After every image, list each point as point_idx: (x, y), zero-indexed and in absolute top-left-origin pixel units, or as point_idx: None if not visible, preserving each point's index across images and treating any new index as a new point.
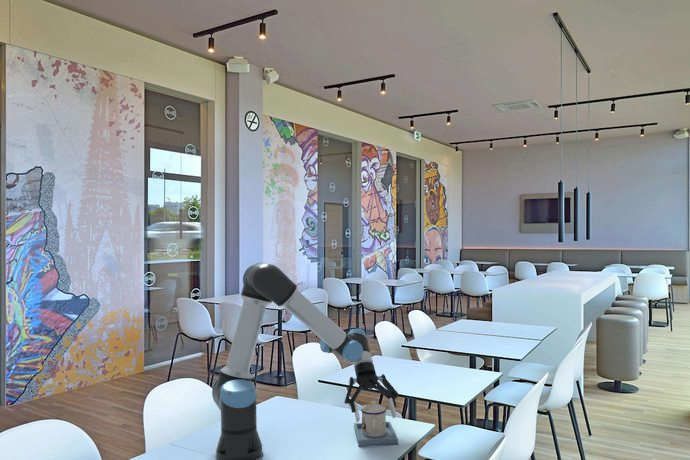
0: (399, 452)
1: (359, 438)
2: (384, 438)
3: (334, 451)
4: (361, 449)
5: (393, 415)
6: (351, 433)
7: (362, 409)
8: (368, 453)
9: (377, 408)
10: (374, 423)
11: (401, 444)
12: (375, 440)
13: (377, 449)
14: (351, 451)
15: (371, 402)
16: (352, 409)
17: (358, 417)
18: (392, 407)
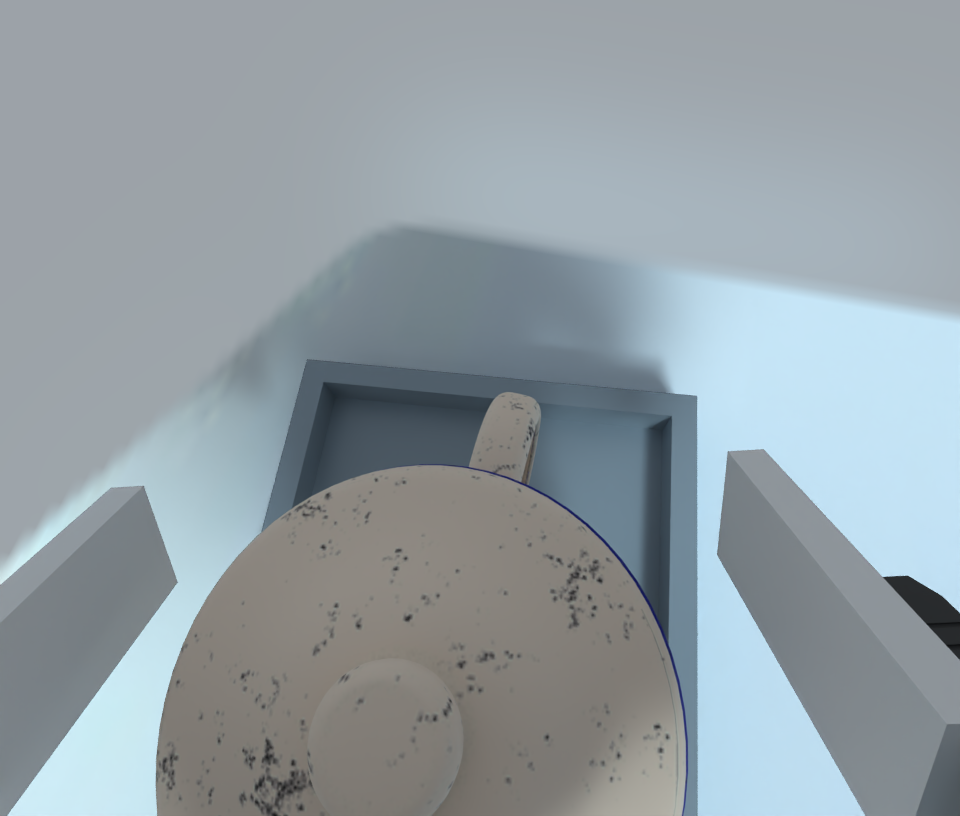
0: (371, 247)
1: (679, 447)
2: (425, 389)
3: (916, 364)
4: (661, 355)
5: (152, 543)
6: (727, 812)
7: (674, 684)
8: (614, 274)
9: (372, 540)
10: (507, 392)
11: (293, 379)
12: (521, 381)
13: (523, 328)
14: (755, 334)
15: (450, 702)
16: (936, 595)
17: (757, 458)
18: (59, 571)
